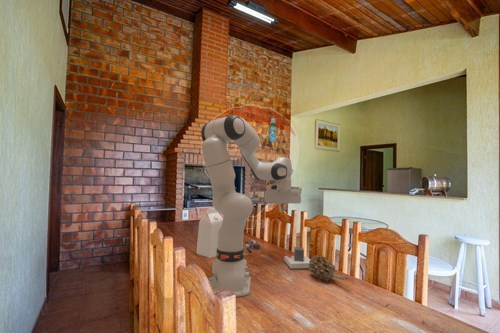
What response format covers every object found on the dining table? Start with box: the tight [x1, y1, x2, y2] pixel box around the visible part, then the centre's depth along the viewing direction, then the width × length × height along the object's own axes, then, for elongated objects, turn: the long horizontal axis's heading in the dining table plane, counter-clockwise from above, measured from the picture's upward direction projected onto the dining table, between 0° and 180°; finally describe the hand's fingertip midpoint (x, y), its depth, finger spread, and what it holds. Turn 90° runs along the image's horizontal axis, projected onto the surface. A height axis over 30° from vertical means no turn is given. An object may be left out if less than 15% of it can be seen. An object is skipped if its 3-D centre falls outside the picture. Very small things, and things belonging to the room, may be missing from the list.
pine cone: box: [308, 254, 349, 282], centre depth 121 cm, size 22×10×10 cm, turn 36°
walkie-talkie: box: [245, 239, 261, 253], centre depth 170 cm, size 9×4×20 cm
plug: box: [293, 246, 305, 262], centre depth 141 cm, size 6×5×8 cm
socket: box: [283, 255, 311, 271], centre depth 141 cm, size 12×12×4 cm
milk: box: [195, 207, 223, 259], centre depth 158 cm, size 12×12×26 cm
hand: (282, 211), depth 151 cm, fingers closed
